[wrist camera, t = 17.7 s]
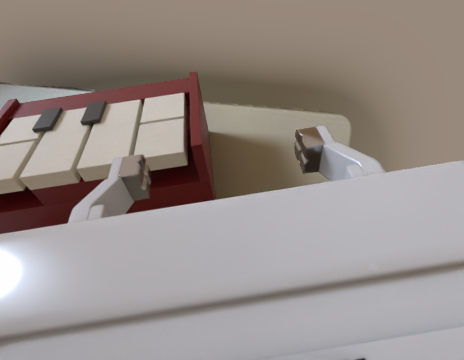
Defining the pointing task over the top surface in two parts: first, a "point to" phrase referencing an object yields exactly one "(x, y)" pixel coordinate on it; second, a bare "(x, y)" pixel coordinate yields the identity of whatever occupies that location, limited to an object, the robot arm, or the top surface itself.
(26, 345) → the robot arm
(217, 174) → the top surface
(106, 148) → the toy piano
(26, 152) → the c key
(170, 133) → the f key
